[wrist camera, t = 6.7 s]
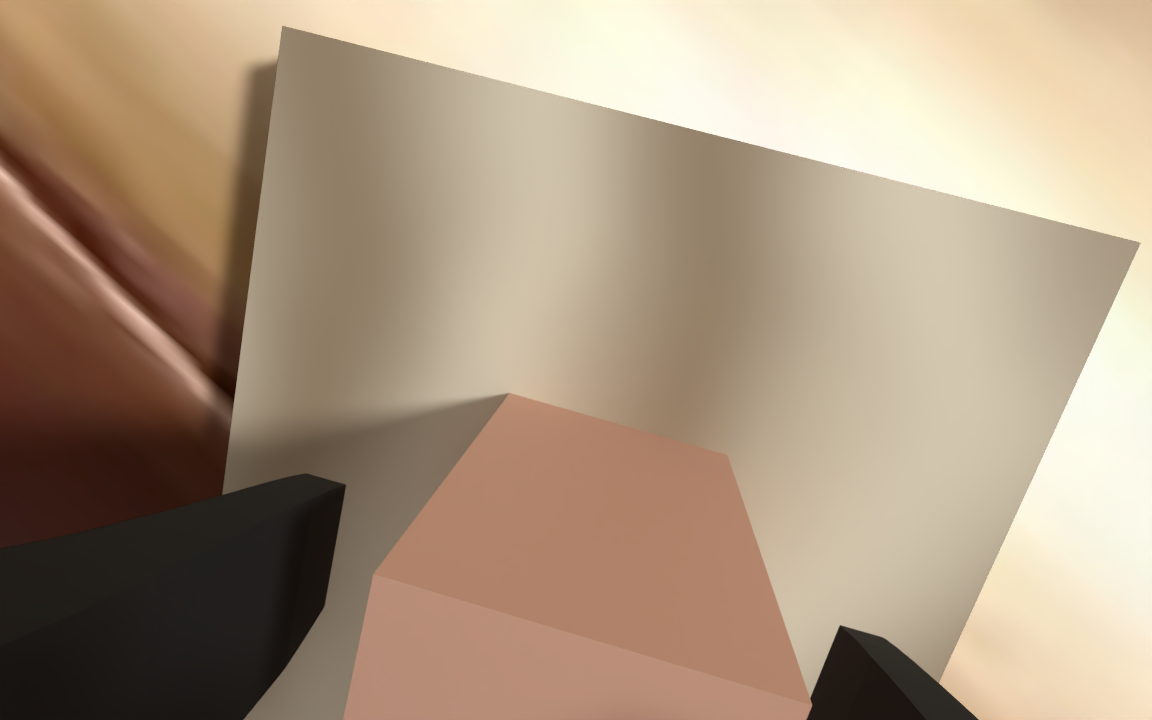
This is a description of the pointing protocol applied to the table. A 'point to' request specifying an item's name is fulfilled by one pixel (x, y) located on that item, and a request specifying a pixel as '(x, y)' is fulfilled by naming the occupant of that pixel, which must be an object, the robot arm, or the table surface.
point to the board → (647, 336)
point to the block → (577, 586)
